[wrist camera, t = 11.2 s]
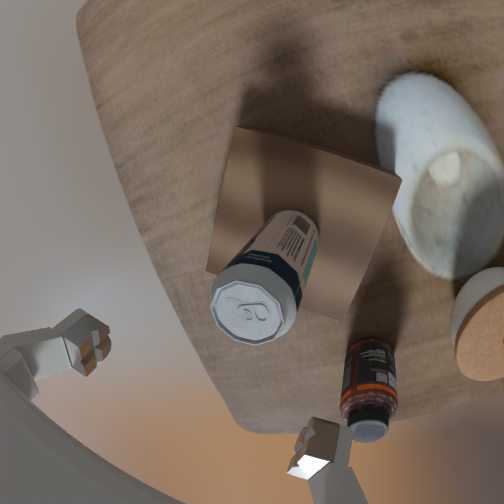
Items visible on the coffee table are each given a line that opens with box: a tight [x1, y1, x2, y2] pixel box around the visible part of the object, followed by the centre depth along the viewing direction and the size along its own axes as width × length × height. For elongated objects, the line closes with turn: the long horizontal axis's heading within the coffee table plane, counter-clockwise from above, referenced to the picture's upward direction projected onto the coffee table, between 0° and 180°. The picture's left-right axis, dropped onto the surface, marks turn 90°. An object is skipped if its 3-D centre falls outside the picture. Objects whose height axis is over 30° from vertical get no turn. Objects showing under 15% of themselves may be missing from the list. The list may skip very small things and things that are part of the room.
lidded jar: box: [450, 267, 504, 381], centre depth 21 cm, size 11×11×9 cm
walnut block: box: [206, 126, 402, 321], centre depth 27 cm, size 14×14×4 cm
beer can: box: [210, 210, 319, 346], centre depth 21 cm, size 5×5×12 cm
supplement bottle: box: [340, 339, 398, 443], centre depth 28 cm, size 6×6×11 cm
